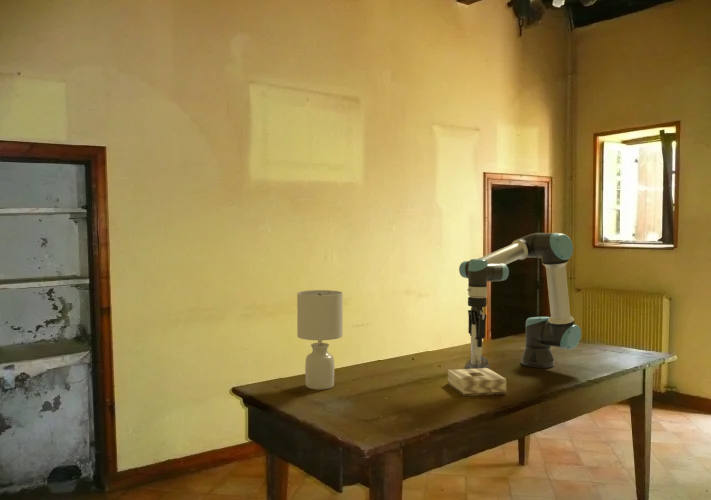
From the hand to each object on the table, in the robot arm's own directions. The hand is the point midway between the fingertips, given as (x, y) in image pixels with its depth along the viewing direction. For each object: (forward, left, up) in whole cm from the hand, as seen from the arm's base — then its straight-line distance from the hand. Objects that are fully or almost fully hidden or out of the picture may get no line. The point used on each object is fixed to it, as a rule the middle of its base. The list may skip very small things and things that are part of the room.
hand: (476, 353), depth 236 cm
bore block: (0, 0, -15) cm, 15 cm away
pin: (0, 0, -4) cm, 4 cm away
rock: (-9, -21, -15) cm, 28 cm away
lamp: (+63, -15, -15) cm, 66 cm away
